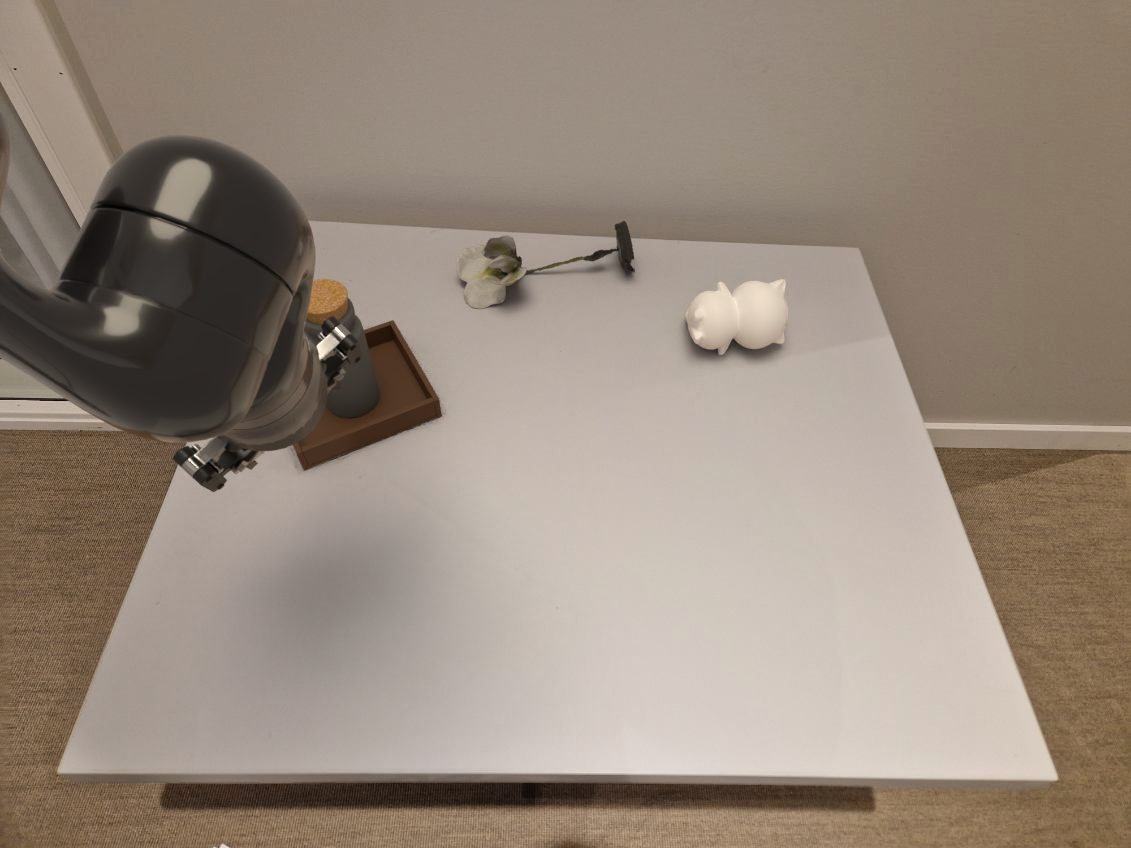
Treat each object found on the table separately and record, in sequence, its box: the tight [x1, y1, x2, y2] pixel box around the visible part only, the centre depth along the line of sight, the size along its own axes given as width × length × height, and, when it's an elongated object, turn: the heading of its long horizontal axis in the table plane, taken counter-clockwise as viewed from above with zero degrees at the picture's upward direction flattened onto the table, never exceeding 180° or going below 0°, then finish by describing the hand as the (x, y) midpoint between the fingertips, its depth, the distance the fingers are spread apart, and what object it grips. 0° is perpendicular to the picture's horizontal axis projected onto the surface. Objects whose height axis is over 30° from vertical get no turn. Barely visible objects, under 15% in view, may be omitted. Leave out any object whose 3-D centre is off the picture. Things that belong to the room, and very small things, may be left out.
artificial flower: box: [455, 220, 636, 310], centre depth 90 cm, size 9×22×10 cm, turn 102°
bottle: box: [305, 278, 379, 418], centre depth 73 cm, size 6×6×15 cm
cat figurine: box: [684, 278, 789, 356], centre depth 86 cm, size 9×11×12 cm
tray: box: [292, 319, 443, 471], centre depth 79 cm, size 15×13×3 cm
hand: (286, 418), depth 57 cm, fingers open, 8 cm apart
